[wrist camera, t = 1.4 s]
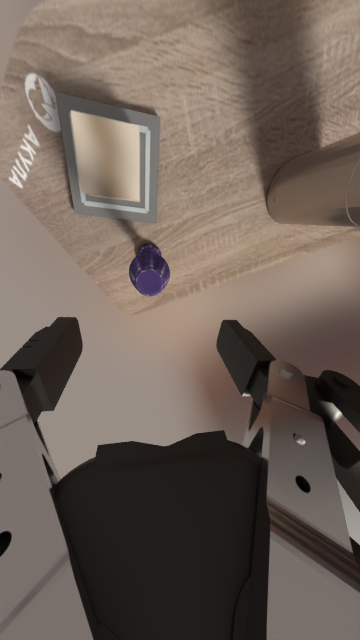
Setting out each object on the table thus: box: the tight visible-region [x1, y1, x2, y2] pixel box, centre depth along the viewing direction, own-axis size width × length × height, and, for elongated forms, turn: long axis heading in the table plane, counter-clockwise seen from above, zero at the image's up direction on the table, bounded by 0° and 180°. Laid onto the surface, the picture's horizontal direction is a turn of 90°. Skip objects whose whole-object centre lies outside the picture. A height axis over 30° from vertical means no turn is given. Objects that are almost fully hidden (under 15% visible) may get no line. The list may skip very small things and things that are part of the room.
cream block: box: [71, 111, 140, 203], centre depth 22 cm, size 7×7×4 cm
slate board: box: [55, 92, 160, 223], centre depth 24 cm, size 12×12×1 cm
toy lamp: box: [129, 244, 170, 296], centre depth 24 cm, size 5×5×17 cm
